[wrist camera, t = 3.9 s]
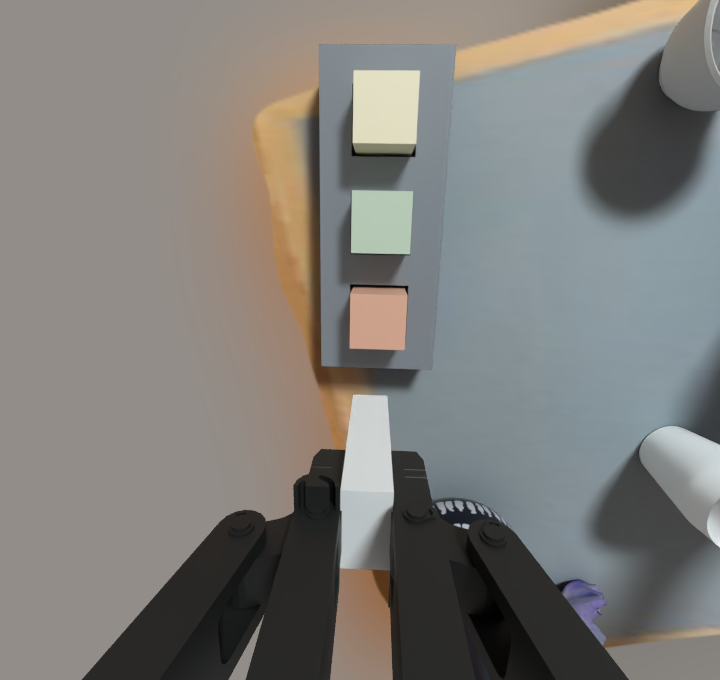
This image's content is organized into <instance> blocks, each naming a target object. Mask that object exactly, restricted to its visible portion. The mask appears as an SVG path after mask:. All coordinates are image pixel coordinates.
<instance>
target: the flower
mask: <svg viewBox="0 0 720 680" xmlns="http://www.w3.org/2000/svg"><path fill="white" fill-rule="evenodd" d="M561 593H562V594H563V595H564V597H565V598H566V599H567V601H568V602H569V603H570V605H571V606H572V607H573V608H574V610H575V611H576V612H577V614H578V615H579V616H580V617H581V619H582V620H583V621H584V623H585V624H586V625H587V626H588V628H589V629H590V630H591V632H592V633H593V634H594V635H595V637H596V638H597V639H598V641H599V642H600V643H601V645H602V646H604V643H605V641H606V637H605V636H604V635H603V634H602V633H601V630H600V629H599V628H598V627H597V626H596V625H595V623H594V622H593V620H594V619H595V618H596V616H599V615H598V613H599V614H600V615H602V614H601V611H600V609H599V608H600V607H602V606H603V605H605V606H606V605H607V602H606V601H605V600H604V595H603V594H602V593H601V592H599V589H598V587H597V585H593V584H589V583H586V582H585V581H583V580H575V581H572V582H570V583H568V584H567V585H566V586H565V587H564V589H563V591H562V592H561Z"/></svg>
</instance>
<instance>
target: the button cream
mask: <svg viewBox="0 0 720 680" xmlns="http://www.w3.org/2000/svg"><path fill="white" fill-rule="evenodd" d="M419 82H420V71H414V70H354V77H353V146H354V149H355V153H356V156H361V157H411V155H412V152H413V150H414V148H415V145H416V138H417V119H418V101H419Z"/></svg>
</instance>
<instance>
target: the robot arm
mask: <svg viewBox="0 0 720 680" xmlns="http://www.w3.org/2000/svg"><path fill="white" fill-rule="evenodd" d="M293 487H294V512H293V513H292V514H290V515H288V516H286V517H284V518H280V519H277V520H271V521H265V518H264V517H263V515H262V514H261V513H258V512H256V511H252V510H243V511H238V512H234V513H232V514H230V515H228V516H226V517H225V518H224V519H223V520H222V521H220V522H219V524H218V525H217V526H216V527H215V528H214V529H213V531H212V532H211V533H210V534H209V535H208V536H207V537H206V539H205V540H204V541H203V542H202V543H201V544H200V546H198V548H197V549H196V550H195V551H194V552H193V553H192V554H191V556H190V557H189V558H188V559H187V560H186V561H185V562H184V564H183V565H182V566H181V567H180V568H179V569H178V571H177V572H176V573H175V574H174V575H173V576H172V577H171V579H170V580H169V581H168V582H167V583H166V584H165V585H164V586H163V588H162V589H161V590H160V591H159V592H158V594H156V596H155V597H154V598H153V599H152V600H151V601H150V602H149V604H148V605H147V606H146V607H145V608H144V609H143V611H142V612H141V613H140V614H139V615H138V616H137V617H136V618H135V620H134V621H133V622H132V623H131V624H130V625H129V627H128V628H127V629H126V630H125V631H124V632H123V633H122V634H121V636H120V637H119V638H118V639H117V640H116V642H115V643H114V644H113V645H112V646H111V647H110V648H109V649H108V650H107V652H106V653H105V654H104V655H103V656H102V657H101V658H100V660H99V661H98V662H97V663H96V664H95V665H94V666H93V668H92V669H91V670H90V671H89V672H88V674H86V676H85V677H84V678H83V679H82V680H228V679H229V677H230V676H231V674H232V672H233V670H234V668H235V666H236V665H237V663H238V661H239V659H240V657H241V656H242V654H243V652H244V650H245V648H246V646H247V645H248V643H249V641H250V639H251V637H252V635H253V633H254V632H255V630H256V628H257V626H258V625H259V623H260V621H261V619H262V617H263V615H264V618H263V621H262V625H261V628H260V632H259V635H258V639H257V642H256V646H255V649H254V653H253V656H252V660H251V663H250V667H249V670H248V674H247V678H246V680H330V674H331V663H332V654H333V643H334V633H335V623H336V612H337V603H338V592H339V570H340V568H347V569H368V570H389V571H390V586H389V606H388V607H390V613H391V642H392V669H393V680H475V675H474V671H473V666H472V662H471V657H470V653H469V648H468V644H467V639H466V635H465V630H464V625H463V622H464V624H465V626H466V628H467V630H468V633H469V635H470V637H471V639H472V641H473V643H474V645H475V647H476V650H477V652H478V654H479V656H480V658H481V660H482V662H483V665H484V667H485V669H486V671H487V673H488V675H489V677H490V679H491V680H629V679H628V678H627V677H626V676H625V674H624V673H623V672H622V670H621V669H620V668H619V667H618V665H617V664H616V663H615V661H614V660H613V659H612V657H611V656H610V655H609V654H608V652H607V651H606V650H605V648H604V647H603V646H602V645H601V643H600V642H599V641H598V639H597V638H596V637H595V635H594V634H593V633H592V632H591V630H590V629H589V628H588V626H587V625H586V624H585V623H584V621H583V620H582V619H581V617H580V616H579V615H578V614H577V612H576V611H575V610H574V608H573V607H572V606H571V605H570V603H569V602H568V601H567V599H566V598H565V597H564V595H563V594H562V593H561V592H560V590H559V589H558V588H557V586H556V585H555V584H554V583H553V581H552V580H551V579H550V577H549V576H548V575H547V574H546V572H545V571H544V570H543V568H542V567H541V566H540V564H539V563H538V562H537V561H536V559H535V558H534V557H533V555H532V554H531V553H530V552H529V550H528V549H527V548H526V546H525V545H524V544H523V543H522V541H521V540H520V539H519V537H518V536H517V535H516V534H515V533H514V532H513V531H512V530H511V529H510V528H509V527H508V526H506V525H504V524H502V523H501V522H498V521H494V520H491V519H480V520H477V521H474V522H473V523H472V524H471V525H470V526H469V528H468V529H465V528H462V527H458V526H455V525H453V524H450V523H448V522H446V521H445V520H443V519H442V518H441V517H440V516H439V514H438V512H437V510H436V509H435V508H434V507H433V505H432V500H431V495H430V490H429V485H428V481H427V476H426V471H425V466H424V461H423V459H422V458H421V457H420V456H419V455H418V454H417V452H409V451H391V444H390V430H389V415H388V401H387V396H378V395H353V401H352V408H351V415H350V423H349V430H348V438H347V445H346V450H331V449H328V450H327V449H321V450H320V451H319V452H318V453H317V454H316V455H315V456H314V458H313V461H312V465H311V469H310V472H309V474H307V475H304V476H302V477H301V478H299V479H298V480H297V481H296V483H295V484H294V486H293ZM462 620H463V621H462Z"/></svg>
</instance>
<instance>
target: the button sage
mask: <svg viewBox="0 0 720 680" xmlns="http://www.w3.org/2000/svg"><path fill="white" fill-rule="evenodd" d="M412 208H413V191H368V190H352V213H351V253H373V254H410V245H411V227H412Z"/></svg>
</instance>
